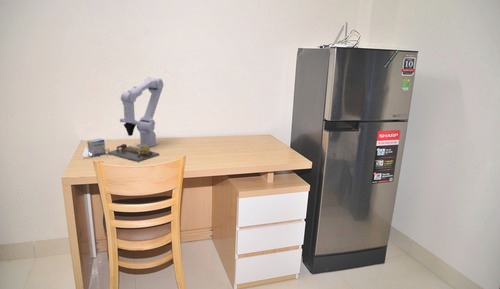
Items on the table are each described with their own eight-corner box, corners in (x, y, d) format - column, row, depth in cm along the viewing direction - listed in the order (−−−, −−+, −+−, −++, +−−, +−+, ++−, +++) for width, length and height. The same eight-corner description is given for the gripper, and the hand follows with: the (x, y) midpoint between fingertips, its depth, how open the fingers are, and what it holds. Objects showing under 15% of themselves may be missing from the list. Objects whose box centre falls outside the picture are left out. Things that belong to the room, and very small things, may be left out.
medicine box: (93, 157, 183) (91, 142, 181) (88, 155, 185) (87, 140, 183) (105, 153, 190) (104, 139, 187) (100, 152, 192) (99, 138, 189)
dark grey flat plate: (129, 147, 203) (129, 145, 203) (159, 155, 192) (159, 153, 191) (107, 153, 190) (107, 152, 189) (138, 162, 178) (138, 160, 178)
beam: (124, 148, 198) (124, 144, 197) (152, 155, 187) (152, 150, 186) (116, 150, 193) (115, 146, 192) (144, 158, 182) (144, 153, 181)
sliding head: (146, 152, 190) (145, 144, 189) (149, 153, 189) (149, 145, 188) (136, 155, 185) (136, 147, 183) (140, 156, 183) (140, 148, 182)
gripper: (115, 112, 190) (116, 134, 194) (132, 115, 183) (133, 138, 187) (124, 110, 196) (126, 132, 200) (142, 113, 189) (143, 136, 193)
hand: (130, 135), depth 194 cm, fingers closed
